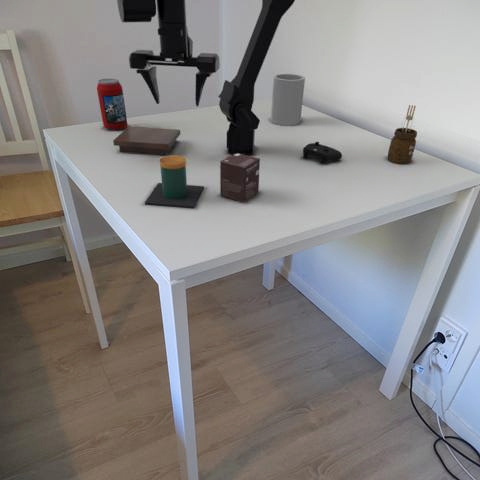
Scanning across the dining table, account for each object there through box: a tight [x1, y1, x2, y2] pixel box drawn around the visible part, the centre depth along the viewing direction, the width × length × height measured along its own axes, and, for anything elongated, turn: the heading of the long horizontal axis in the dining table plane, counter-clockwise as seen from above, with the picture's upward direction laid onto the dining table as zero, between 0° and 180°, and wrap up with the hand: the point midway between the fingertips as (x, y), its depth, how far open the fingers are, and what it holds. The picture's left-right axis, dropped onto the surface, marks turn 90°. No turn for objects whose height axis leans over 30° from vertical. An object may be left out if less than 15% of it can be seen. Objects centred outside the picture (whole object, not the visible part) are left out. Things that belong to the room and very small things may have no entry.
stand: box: [112, 125, 181, 156], centre depth 109 cm, size 14×12×3 cm
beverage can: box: [96, 78, 128, 131], centre depth 118 cm, size 7×7×12 cm
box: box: [219, 153, 261, 203], centre depth 87 cm, size 6×6×7 cm
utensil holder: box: [387, 104, 418, 165], centre depth 103 cm, size 6×6×12 cm
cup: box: [270, 73, 306, 127], centre depth 127 cm, size 9×9×12 cm
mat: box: [144, 182, 205, 209], centre depth 88 cm, size 10×10×1 cm
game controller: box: [302, 141, 343, 164], centre depth 106 cm, size 10×5×6 cm
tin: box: [158, 154, 188, 199], centre depth 85 cm, size 5×5×7 cm
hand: (177, 104), depth 97 cm, fingers open, 9 cm apart
